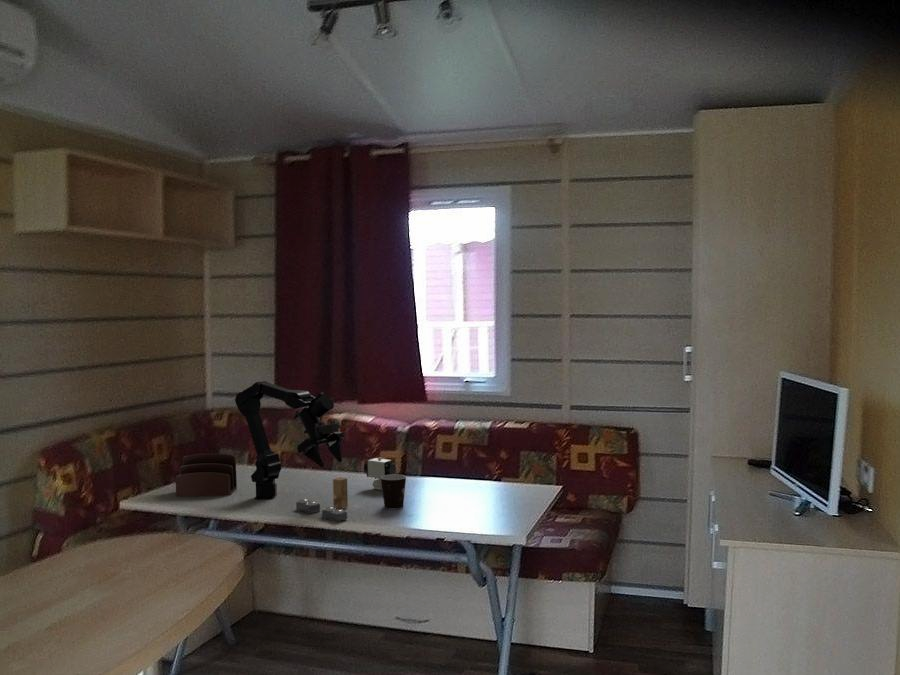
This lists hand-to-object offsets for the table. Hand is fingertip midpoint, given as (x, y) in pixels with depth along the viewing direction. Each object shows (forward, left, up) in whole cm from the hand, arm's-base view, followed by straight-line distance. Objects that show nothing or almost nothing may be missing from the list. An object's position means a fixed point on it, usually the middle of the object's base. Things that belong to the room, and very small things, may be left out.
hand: (332, 464), depth 266 cm
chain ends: (-2, -8, -15) cm, 17 cm away
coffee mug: (+20, +1, -15) cm, 25 cm away
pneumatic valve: (+13, +27, -15) cm, 33 cm away
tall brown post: (+3, 0, -15) cm, 15 cm away
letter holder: (-51, +22, -15) cm, 58 cm away
